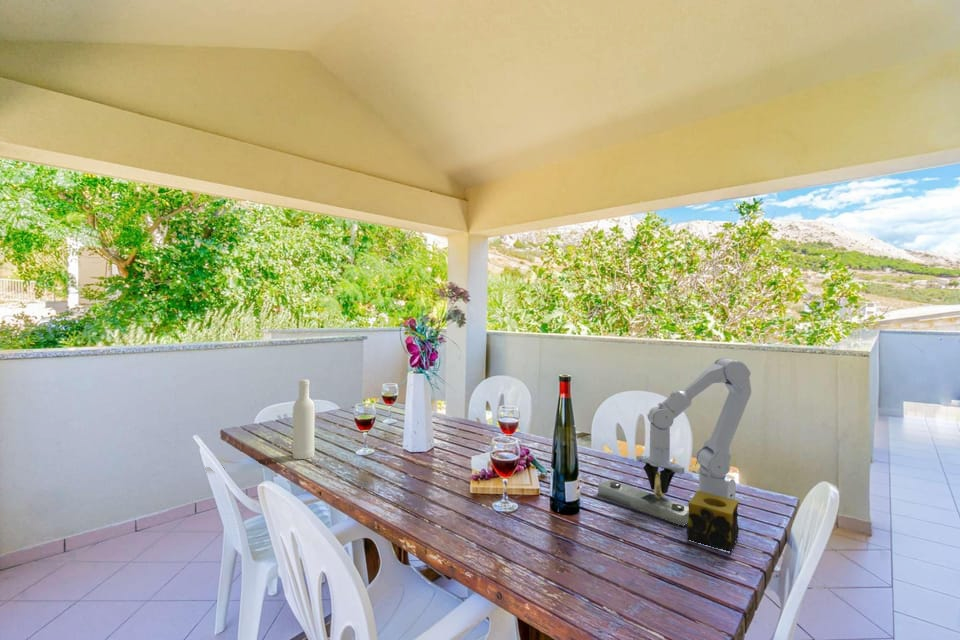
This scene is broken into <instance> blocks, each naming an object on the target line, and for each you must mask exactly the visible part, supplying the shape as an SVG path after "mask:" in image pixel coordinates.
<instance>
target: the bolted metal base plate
mask: <svg viewBox="0 0 960 640" xmlns="http://www.w3.org/2000/svg"><path fill="white" fill-rule="evenodd" d="M597 494H598V495H600V496H602V497H605V498H608V499H610V500H613V501H615V502H618V503H620V504H622V503H623V504H622V505H625V504H626V506H628V505H629V506H628V507H630V506H632V507H631V508H633V507H635V508H637V509H636V510H638V509H639V510H638V511H640V510H642V511H641V512H643V511H644V512H643V513H645V512H647V513H646V514H648V513H649V514H648V515H651V514H652V515H651V516H653V515H654V517H656V516H657V517H656V518H658V517H660V518H659V519H661V518H662V519H661V520H663V519H665V520H664V521H666V520H668V521H670V522H669V523H671V522H673V523H672V524H674V523H676V524H678V525H677V526H679V525H682V526H683V525H684V524H686V523H688V515H689V512H688V511H689V505H688V506H687V505H684V504H682V503H680V502H676V501H674V500H671V499H668V498H665V497H664V498H663V497H660V496H657V495H654V493H650V492H649V491H646V490H642V489H639V488H636V487H634V486H630V485H628V484H625V483H622V482H620V481H617V480H614V479H609V480H606V481H604V482H601V483H599V484H598V486H597ZM635 508H634V509H635ZM668 521H667V522H668ZM676 524H675V525H676ZM686 525H687V524H686ZM683 527H684V526H683Z"/></svg>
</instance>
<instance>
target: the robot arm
mask: <svg viewBox="0 0 960 640" xmlns="http://www.w3.org/2000/svg"><path fill="white" fill-rule="evenodd" d="M751 374H752V373H751V371H750V369H749V368H748V366H747V365H746V364H745V363H744V362H743V361H740V360H734V359H729V358H726V357H721V358H718V359H716V360H715V361H714V362H712V363H710V364H709V365H708V366H707V367H706V369H705V370H704V371H702V373H700V374H699V375H698V376H697V377H696V378H695V379H694V380H693V381H692V382H691V383H689V385H688V386H687V387H686V388H684V389H683V390H675V391H671V392H670V393H669V396H668V397H667V398H665V400H664V401H662V402H659V403H658V404H657V405H658V406H654V407H652V408H651V409H650V410H649V413H648V414H647V419H648V421H649V423H650V424H649V425H650V426H649V429H650V430H649V455H643V454H637V455H636V458H635V459H636V461H635V462H637V463H643V464H645V465H644V466H643V470H644V473H645V475H646V476H647V479H648V482H649V486H650V490H652V491H654V472H660V475H661V480H662V493H663V494H664V495H666V494H667V493H668V491H669V487H670V484H671V482H672V480H673V477H674V476H675V474H676V473H677V474H678V475H683V474H685V466H682V465H680V464H677V463H675V462H673V461H670V460H671V455H670V454H671V453H670V452H671V448H670V447H671V444H670V443H671V431H670V430H671V429H670V427H672V426H673V424H674V420H675V419H676V418H678V417H679V416H680V415H681V414H682V413H683V412H685V411H686V410H687V409H688V408H689V407H691V406H692V400H693V399H694V398H695V397H697V396H698V395H700V393H702V392H704V391H705V390H706V389H708V388H709V387H710V386H711V385H713V384H721V383H723V384H724V385H725V387H726V388H727V390H728V394H727V396H726V398H725V401H724V404H723V407H722V408H721V411H720V414H719V415H718V419H717V421H716V424H715V426H714V428H713V431H712V433H711V437H710V438H709V439H708V440H706V441H705V442H704V443H703V445H702V447H701V448H700V449H699V450H698V451H697V453H696V454H695V456H696V462H697V463H698V465H699V470H698V491H702V492H706V493H710V494H713V495H717V496H722V497H725V498H729V499H734V500H736V492H737V491H736V481H735V479H733V478H731V477H730V476H727V474H728V473H729V472H730V469H731V464H730V462H731V461H730V460H731V458H732V454H731V449H730V446H731V443H732V441H733V439H734V436H735V434H736V432H737V429H738V427H739V425H740V422H741V419H742V417H743V415H744V412H745V409H746V408H747V404H748V402H749V400H750V397H751V395H752V388H751V386H752V385H751V379H750V377H751ZM659 468H660V469H662V470H659Z"/></svg>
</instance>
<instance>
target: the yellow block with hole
mask: <svg viewBox="0 0 960 640" xmlns="http://www.w3.org/2000/svg"><path fill="white" fill-rule="evenodd" d="M688 507H689V511H688V512H689V515H688V524H687V525H686V526H687V527H686V528H687V529H686V535H687V537H686V539H688V540H691V541H694V542H697V543H701V544H704V545H708V546H711V547H714V548H718V549H723V550H726V551H730V552H731V551H732V549H733V550H734V548H735V546H736V545H735V544H736V543H735V541H736V539H737V538H738V539H739V528H740V527H739V524H738V523H739V522H738V520H739V519H738V516H739V513H738V509H739V508H738V507H739V500H737V499H735V500H734V499H729V498H725V497H722V496H717V495H713V494H710V493H706V492H702V491H699V489H698V490H696V492H695V493H694V495H693V497H692V498H691V499H690V500H689V502H688ZM688 540H687V541H688ZM736 542H737V541H736ZM734 545H735V546H734ZM733 547H734V548H733ZM732 552H733V551H732Z"/></svg>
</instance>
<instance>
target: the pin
mask: <svg viewBox="0 0 960 640" xmlns="http://www.w3.org/2000/svg"><path fill="white" fill-rule="evenodd" d="M653 494H654V495H657V496H660V497H663V498H665V494H663V493H662V480H661V475H660V471H658V472H654V490H653Z"/></svg>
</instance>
